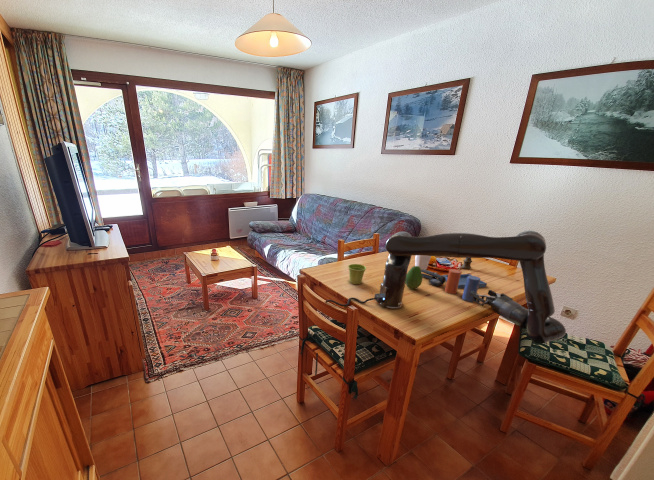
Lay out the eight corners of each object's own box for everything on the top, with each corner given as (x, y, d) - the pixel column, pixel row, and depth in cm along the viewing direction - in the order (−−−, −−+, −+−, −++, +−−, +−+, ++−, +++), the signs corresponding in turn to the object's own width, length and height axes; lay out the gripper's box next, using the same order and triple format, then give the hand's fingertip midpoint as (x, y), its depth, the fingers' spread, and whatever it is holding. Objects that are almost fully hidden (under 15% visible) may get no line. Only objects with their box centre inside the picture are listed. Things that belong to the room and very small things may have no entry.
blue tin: (466, 301, 143) (472, 280, 139) (459, 297, 148) (464, 275, 144) (477, 301, 144) (483, 279, 140) (469, 296, 149) (475, 275, 144)
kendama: (461, 265, 190) (469, 233, 182) (477, 270, 182) (485, 236, 174) (455, 266, 187) (462, 234, 179) (470, 271, 179) (479, 238, 172)
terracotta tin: (448, 294, 151) (453, 273, 147) (442, 289, 156) (447, 269, 152) (458, 293, 152) (463, 272, 147) (452, 289, 156) (456, 268, 152)
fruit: (421, 287, 159) (425, 265, 154) (419, 292, 153) (423, 270, 148) (405, 284, 162) (409, 262, 158) (402, 289, 156) (406, 267, 152)
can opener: (448, 286, 159) (450, 276, 157) (436, 288, 158) (438, 277, 156) (426, 274, 175) (427, 265, 173) (415, 275, 174) (416, 266, 172)
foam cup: (430, 267, 186) (434, 246, 181) (428, 272, 178) (432, 250, 173) (413, 264, 190) (417, 244, 185) (410, 269, 183) (414, 248, 178)
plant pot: (367, 282, 165) (369, 266, 162) (358, 287, 159) (360, 271, 155) (352, 277, 171) (353, 262, 168) (343, 282, 165) (344, 267, 161)
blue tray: (457, 288, 157) (458, 284, 157) (441, 278, 170) (442, 275, 169) (486, 287, 159) (487, 283, 158) (468, 277, 171) (469, 273, 171)
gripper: (527, 300, 123) (496, 283, 137) (494, 301, 121) (467, 285, 136) (522, 316, 126) (492, 299, 140) (489, 318, 124) (463, 300, 139)
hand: (480, 292), depth 138 cm, fingers open, 8 cm apart
